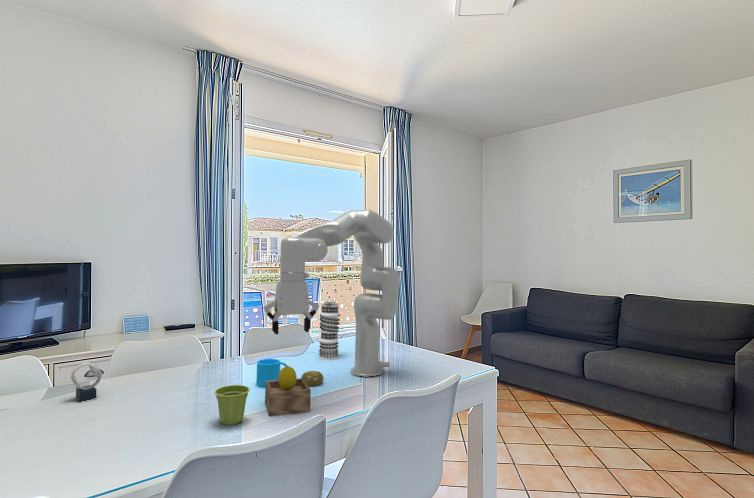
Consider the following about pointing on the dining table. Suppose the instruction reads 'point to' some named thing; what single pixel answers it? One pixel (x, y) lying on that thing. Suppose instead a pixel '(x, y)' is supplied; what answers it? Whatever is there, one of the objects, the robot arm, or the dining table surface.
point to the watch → (86, 391)
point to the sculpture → (313, 378)
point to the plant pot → (231, 403)
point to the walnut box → (287, 398)
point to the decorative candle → (329, 331)
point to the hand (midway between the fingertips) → (291, 332)
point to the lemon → (287, 378)
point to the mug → (267, 371)
